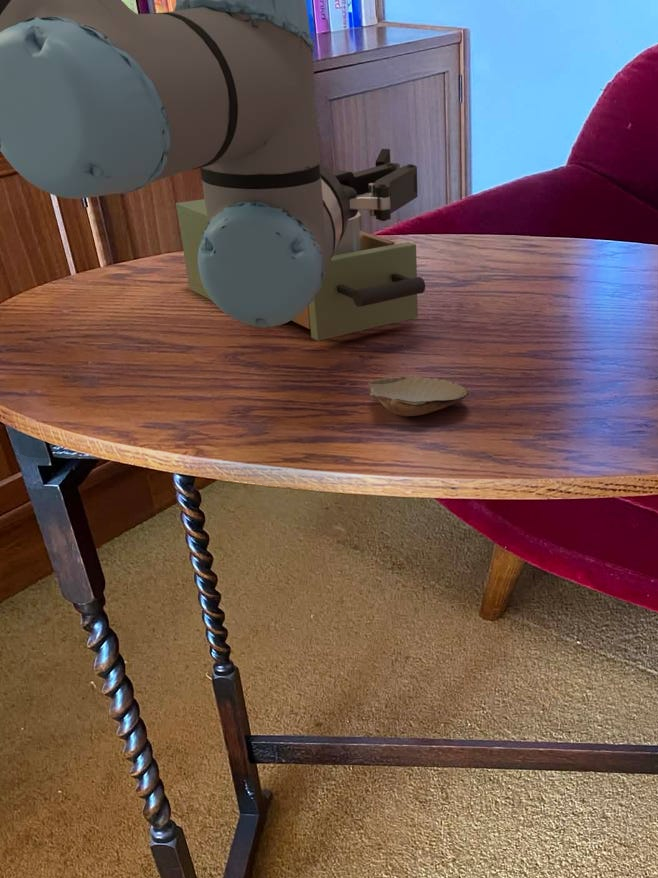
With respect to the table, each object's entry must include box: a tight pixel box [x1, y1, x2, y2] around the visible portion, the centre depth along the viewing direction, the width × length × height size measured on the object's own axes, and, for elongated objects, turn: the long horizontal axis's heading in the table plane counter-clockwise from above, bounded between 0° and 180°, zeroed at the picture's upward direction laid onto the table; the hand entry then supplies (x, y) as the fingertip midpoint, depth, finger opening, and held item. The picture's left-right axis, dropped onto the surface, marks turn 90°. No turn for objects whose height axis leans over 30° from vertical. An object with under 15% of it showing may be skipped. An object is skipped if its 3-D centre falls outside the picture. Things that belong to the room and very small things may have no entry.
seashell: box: [367, 376, 469, 417], centre depth 76 cm, size 8×3×8 cm
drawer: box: [291, 230, 426, 342], centre depth 91 cm, size 18×11×7 cm, turn 40°
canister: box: [333, 211, 363, 256], centre depth 91 cm, size 6×6×8 cm
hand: (330, 163), depth 90 cm, fingers open, 10 cm apart
